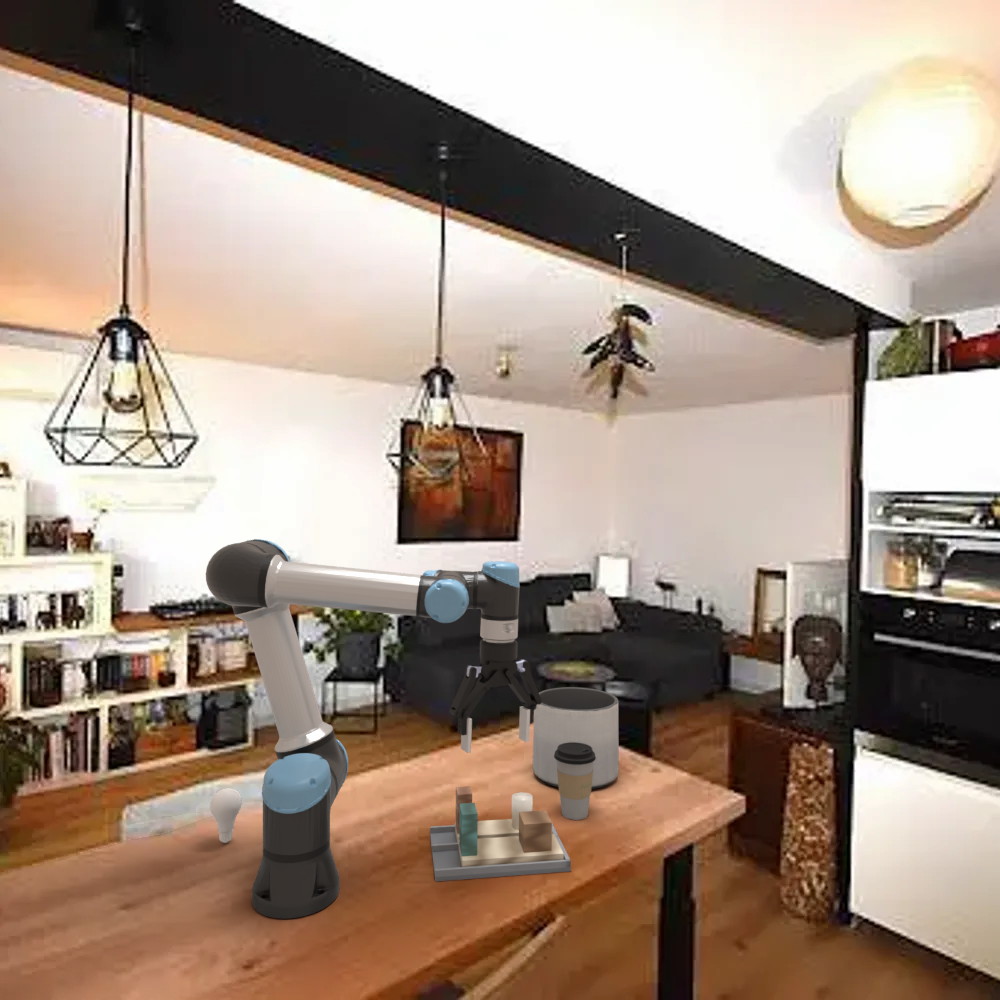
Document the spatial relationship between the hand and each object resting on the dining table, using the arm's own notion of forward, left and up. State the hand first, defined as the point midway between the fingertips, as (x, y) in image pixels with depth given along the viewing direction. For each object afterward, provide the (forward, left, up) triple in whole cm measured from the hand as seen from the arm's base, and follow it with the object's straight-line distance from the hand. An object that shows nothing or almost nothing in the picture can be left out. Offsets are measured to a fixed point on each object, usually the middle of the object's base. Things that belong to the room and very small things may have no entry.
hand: (495, 745), depth 142 cm
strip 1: (+3, +6, -21) cm, 22 cm away
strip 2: (+3, -3, -22) cm, 22 cm away
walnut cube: (+8, -3, -19) cm, 21 cm away
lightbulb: (-54, +13, -22) cm, 60 cm away
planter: (+27, +38, -22) cm, 52 cm away
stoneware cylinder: (+7, +6, -19) cm, 21 cm away
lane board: (+1, +1, -22) cm, 22 cm away
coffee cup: (+21, +16, -22) cm, 34 cm away
